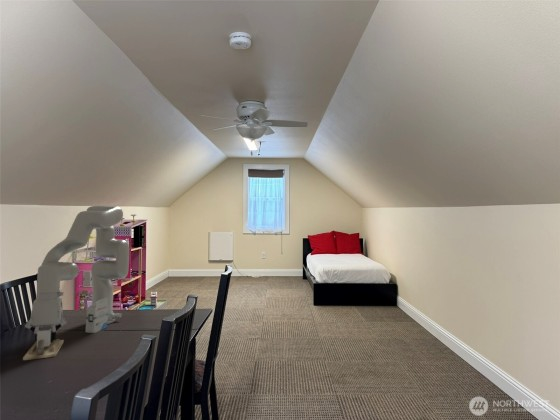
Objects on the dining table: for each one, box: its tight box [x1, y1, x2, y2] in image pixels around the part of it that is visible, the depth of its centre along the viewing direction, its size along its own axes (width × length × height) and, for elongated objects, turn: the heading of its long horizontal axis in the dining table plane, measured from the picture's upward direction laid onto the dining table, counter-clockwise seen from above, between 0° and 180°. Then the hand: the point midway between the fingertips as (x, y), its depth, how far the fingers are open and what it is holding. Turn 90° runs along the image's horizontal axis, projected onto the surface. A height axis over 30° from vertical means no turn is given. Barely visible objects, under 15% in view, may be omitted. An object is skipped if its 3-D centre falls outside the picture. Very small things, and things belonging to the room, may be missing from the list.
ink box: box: [85, 298, 108, 334], centre depth 156 cm, size 9×5×15 cm, turn 168°
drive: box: [37, 325, 52, 347], centre depth 130 cm, size 4×8×6 cm, turn 24°
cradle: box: [22, 338, 65, 361], centre depth 130 cm, size 10×16×6 cm, turn 24°
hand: (45, 341), depth 130 cm, fingers closed on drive, 3 cm apart
